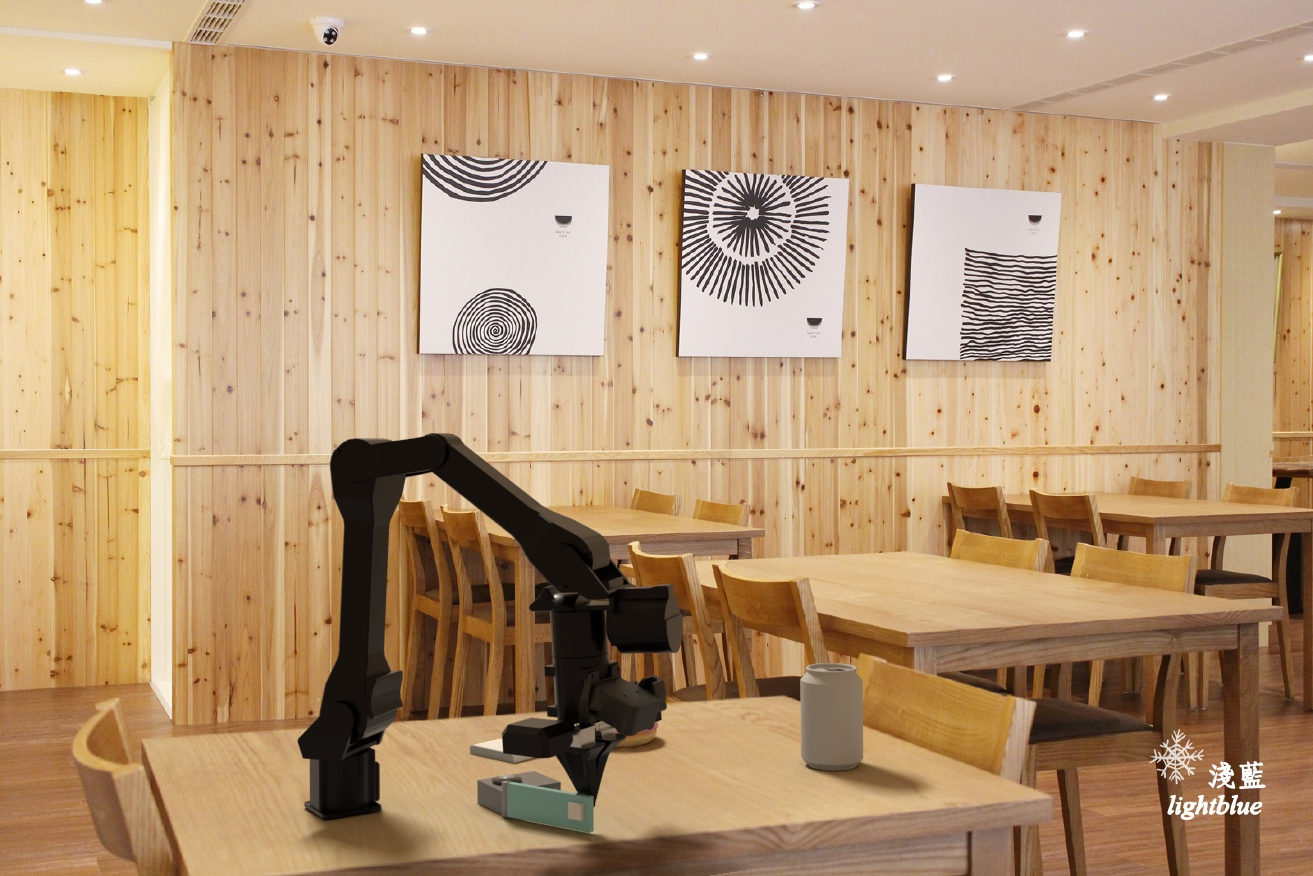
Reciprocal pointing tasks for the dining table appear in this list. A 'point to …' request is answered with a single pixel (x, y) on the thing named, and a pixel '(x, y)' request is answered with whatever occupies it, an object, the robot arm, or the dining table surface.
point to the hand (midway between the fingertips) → (589, 807)
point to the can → (831, 716)
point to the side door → (548, 806)
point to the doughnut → (639, 738)
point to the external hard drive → (495, 751)
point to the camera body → (492, 787)
